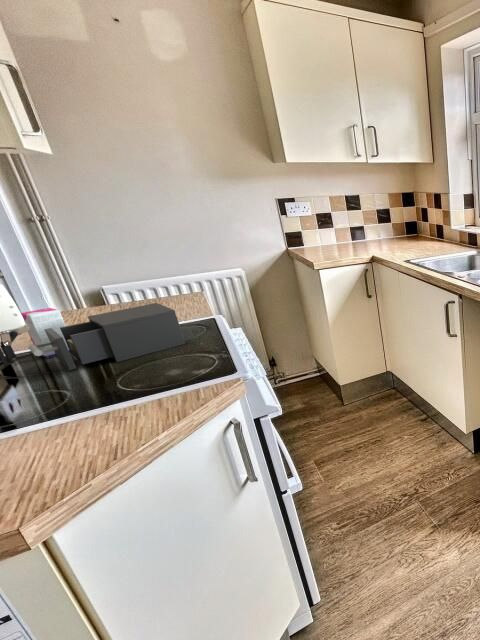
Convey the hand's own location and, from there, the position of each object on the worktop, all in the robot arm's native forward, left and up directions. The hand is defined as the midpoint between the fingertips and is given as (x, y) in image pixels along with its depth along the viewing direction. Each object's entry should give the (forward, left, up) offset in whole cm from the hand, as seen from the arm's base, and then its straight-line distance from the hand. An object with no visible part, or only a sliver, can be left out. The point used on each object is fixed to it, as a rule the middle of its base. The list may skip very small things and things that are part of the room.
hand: (8, 362), depth 94 cm
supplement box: (-11, +14, -5) cm, 19 cm away
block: (+5, +11, -2) cm, 13 cm away
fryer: (+9, +21, -4) cm, 24 cm away
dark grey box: (+5, +12, -3) cm, 13 cm away
